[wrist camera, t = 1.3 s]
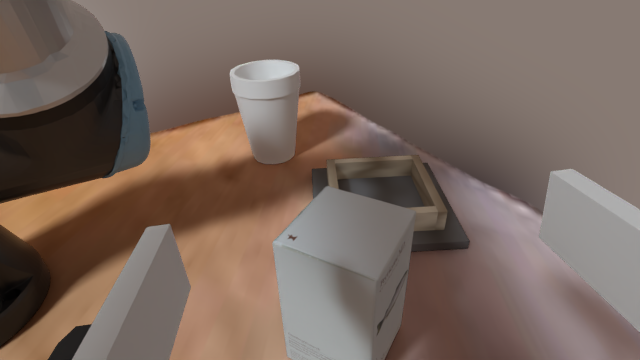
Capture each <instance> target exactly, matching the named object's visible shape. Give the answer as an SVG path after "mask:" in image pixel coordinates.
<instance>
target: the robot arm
mask: <svg viewBox="0 0 640 360" xmlns="http://www.w3.org/2000/svg"><path fill="white" fill-rule="evenodd" d="M149 151H150V129H149V121H148V115H147V110H146V107H145V105H144V97H143V90H142V85H141V81H140V77H139V73H138V70H137V66H136V63H135V60H134V57H133V54H132V52H131V49H130V47H129V45H128V43H127V41H126V40H125V38H124V37H123V36H121V35H120V34H117V33H109V32H107V31H104V29H103V27H102V26H101V24H100V23H99V21H98V20H97V19H96V18H95V16H94V15H93V14H92V13H90V12H89V11H88V10H87V9H85V8H84V7H82V6H81V5H79V4H77V3H76V2H74V1H71V0H0V204H1V203H4V202H8V201H12V200H16V199H19V198H23V197H27V196H31V195H35V194H39V193H43V192H47V191H51V190H55V189H59V188H63V187H67V186H71V185H75V184H79V183H83V182H87V181H91V180H95V179H99V178H108V177H111V176H113V175H114V174H115V173H117V172H120V171H124V170H127V169H130V168H133V167H136V166H138V165H140V164H142V163H143V162H144V161H145V160H146V158H147V157H148V154H149ZM539 238H540V239H541V240H542V241H543V242H544V243H545V244H546V245H548V246H549V247H550V248H551V249H552V250H553V251H554V252H555V253H556V254H557V255H558V256H559V257H560V258H561V259H562V260H563V261H564V262H566V263H567V264H568V265H569V266H570V267H571V268H572V269H573V270H574V271H575V272H576V273H577V274H578V275H579V276H580V277H581V278H582V279H584V280H585V281H586V282H587V283H588V284H589V285H590V286H591V287H592V288H593V289H594V290H595V291H596V292H597V293H598V294H599V295H600V296H602V297H603V298H604V299H605V300H606V301H607V302H608V303H609V304H610V305H611V306H612V307H613V308H614V309H615V310H616V311H617V312H619V313H620V314H621V315H622V316H623V317H624V318H625V319H626V320H627V321H628V322H629V323H630V324H631V325H632V326H633V327H634V328H635V329H637V330H638V331H639V332H640V209H638V208H636V207H635V206H633V205H631V204H630V203H628V202H626V201H625V200H623V199H621V198H620V197H618V196H616V195H615V194H613V193H611V192H610V191H608V190H606V189H605V188H603V187H601V186H600V185H598V184H596V183H595V182H593V181H591V180H590V179H588V178H586V177H585V176H583V175H581V174H580V173H578V172H577V171H575V170H573V169H567V170H560V171H552V172H551V173H550V179H549V184H548V190H547V196H546V201H545V206H544V212H543V217H542V223H541V228H540V234H539ZM49 285H50V273H49V270H48V268H47V266H46V265H45V263H44V261H43V260H42V258H41V256H40V255H39V253H38V252H37V251H36V250H35V249H34V248H33V247H31V246H30V245H29V244H27V243H26V242H24V241H23V240H22V239H20V238H19V237H17V236H16V235H14V234H13V233H12V232H10V231H9V230H7V229H6V228H4V227H3V226H2V225H0V346H1V345H2V344H4V343H5V342H6V341H7V340H9V339H10V338H11V337H12V336H13V335H14V334H16V333H17V332H18V331H19V330H20V329H21V328H22V327H23V326H24V325H25V324H26V323H27V322H28V321H29V320H30V318H31V317H32V316H33V315H34V314H35V312H36V311H37V310H38V308H39V307H40V305H41V304H42V302H43V301H44V299H45V297H46V294H47V292H48V289H49ZM190 288H191V286H190V283H189V280H188V277H187V274H186V271H185V268H184V265H183V262H182V259H181V256H180V253H179V250H178V247H177V244H176V241H175V238H174V234H173V231H172V228H171V225H170V224H165V225H157V226H150V227H147V228H146V229H145V231H144V233H143V235H142V236H141V238H140V240H139V242H138V243H137V245H136V247H135V249H134V251H133V252H132V254H131V256H130V258H129V259H128V261H127V263H126V265H125V267H124V268H123V270H122V272H121V274H120V275H119V277H118V279H117V281H116V282H115V284H114V286H113V288H112V290H111V291H110V293H109V295H108V297H107V298H106V300H105V302H104V304H103V305H102V307H101V309H100V311H99V313H98V314H97V316H96V318H95V320H94V321H93V323H92V324H90V325H83V326H76V327H75V328H74V329H73V330H72V331H71V332H70V333H69V334H68V335H67V336H65V337H64V338H63V339H62V340H61V341H60V342H59V343H58V344H57V346H56V347H55V349H54V351H53V352H52V354H51V355H50V357H49V359H48V360H169V358H170V355H171V351H172V348H173V345H174V341H175V338H176V335H177V331H178V328H179V325H180V321H181V318H182V315H183V311H184V308H185V305H186V301H187V298H188V295H189V291H190Z"/></svg>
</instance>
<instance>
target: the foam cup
mask: <svg viewBox="0 0 640 360" xmlns="http://www.w3.org/2000/svg"><path fill="white" fill-rule="evenodd" d="M230 81H231V87H232V92H233V93H234V94H235V97H236V100H237V103H238V106H239V110H240V113H241V117H242V120H243V123H244V127H245V130H246V133H247V136H248V140H249V143H250V146H251V150H252V153H253V155H254V158H255V159H256V160H257V161H258V162H261V163H264V164H279V163H283V162H286V161H288V160H290V159H291V158H292V157H293V156H294V155H295V146H296V129H297V113H298V97H299V88H300V71H299V66H298V65H297V64H295V63H293V62H289V61H283V60H261V61H253V62H249V63H245V64H241V65H238V66H237V67H235V68H233V69H232V70H231V71H230Z"/></svg>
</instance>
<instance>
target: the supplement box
mask: <svg viewBox="0 0 640 360" xmlns="http://www.w3.org/2000/svg"><path fill="white" fill-rule="evenodd" d="M415 217H416V211H414V210H411V209H407V208H404V207H401V206H397V205H394V204H390V203H386V202H383V201H379V200H376V199H372V198H369V197H365V196H361V195H358V194H354V193H350V192H347V191H343V190H340V189H336V188H333V187H330V186H326V187H325V188H324V189H323V190H322V191H321V192H320V193H319V194H318V195H317V196H316V197H315V198H314V199H313V200H312V201H311V202H310V203H309V205H308V206H307V207H306V208H305V209H304V210H303V211H301V213H300V214H299V215H298V216H297V217H296V218H295V219H294V220H293V221H292V222H291V224H290V225H289V226H288V227H287V228H286V229H285V230H284V231H283V232H282V233H281V234H280V235H279V236H278V237H277V238H276V239H275V240H274V241H273V251H274V259H275V266H276V273H277V282H278V289H279V297H280V305H281V313H282V320H283V328H284V336H285V343H286V351H287V357H289V358H291V359H293V360H384V359H385V357H386V355H387V353H388V351H389V349H390V346H391V344H392V342H393V340H394V338H395V336H396V334H397V332H398V330H399V328H400V326H401V322H402V314H403V307H404V300H405V293H406V286H407V279H408V271H409V264H410V256H411V247H412V240H413V232H414V224H415Z"/></svg>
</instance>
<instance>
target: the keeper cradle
mask: <svg viewBox="0 0 640 360" xmlns="http://www.w3.org/2000/svg"><path fill="white" fill-rule="evenodd" d="M312 183H313V199H314V198H315V197H316V196H317V195H318V194H319V193H320V192H321V191H322V190H323V189H324V188H325V187H326V186H330V187H333V188H336V189H340V190H343V191H347V192H350V193H354V194H358V195H361V196H365V197H369V198H372V199H376V200H379V201H383V202H386V203H390V204H394V205H397V206H401V207H404V208H407V209H411V210H414V211H416V217H415V224H414V232H413V240H412V247H411V251H428V250H446V249H463V248H468V245H469V239H468V238H467V236H466V234H465V232H464V230H463V228H462V226H461V225H460V223H459V221H458V219H457V217H456V215H455V214H454V212H453V210H452V208H451V206H450V204H449V202H448V201H447V199H446V197H445V195H444V193H443V191H442V189H441V188H440V186H439V184H438V182H437V180H436V178H435V176H434V175H433V173H432V171H431V169H430V167H429V165H428V163H422V161H421V159H420V157H419V155H406V156H387V157H369V158H350V159H332V160H327V168H319V169H312Z"/></svg>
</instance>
